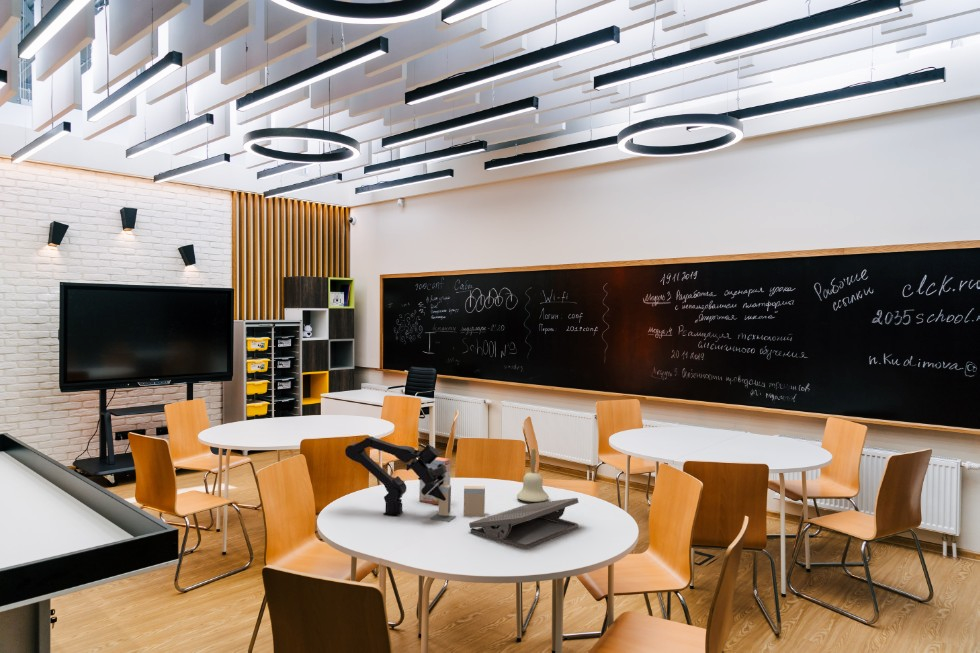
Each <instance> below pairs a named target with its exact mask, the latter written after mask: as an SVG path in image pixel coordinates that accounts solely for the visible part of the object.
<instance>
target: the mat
mask: <svg viewBox="0 0 980 653" xmlns="http://www.w3.org/2000/svg"><path fill="white" fill-rule="evenodd" d="M455 518H457V516H456V515H450V514H449V515H448V516H446V515H439V513H436V514H434V515H433V516H431V517H430V518H429V520H433V519H436V520H435V521H440V520H441V521H443V522H449V523H450V522H451V521H452V520H454V519H455Z"/></svg>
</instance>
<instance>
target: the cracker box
mask: <svg viewBox="0 0 980 653" xmlns="http://www.w3.org/2000/svg"><path fill="white" fill-rule="evenodd" d="M451 460H452V459H451V458H446V457H441V456H440V457H439V456H438V457H437V458H436V459H435V460H434V461H433V462H432V463H431V464H426V465H427V466H428V468H430V467H431V468H432V469H436V468H438V465H439V464H441V463H442V464H443V465H445V466H446V471H447V472H446V473H445V474H444V475H445V476H446V477H444V478H443V479H444V484H445V485H451ZM443 479H442V480H443ZM424 486H425V483H424V482H423V481H422V480H419V498H418V499H419V502H421V501H422V503H426V502H427V503H426V504H431V503H432V505H436V504H437V506H439V498H436V497H434V496H431V495H428V493H429V492H428V493H427V494H426V495H423V494H422V492H421V489H422V488H423V487H424Z"/></svg>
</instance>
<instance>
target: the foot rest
mask: <svg viewBox="0 0 980 653" xmlns="http://www.w3.org/2000/svg"><path fill="white" fill-rule="evenodd" d="M575 504H579V498H578V497H574V498H573V497H572V498H565V499H556V500H550V501H540V502H534V503H533V502H532V503H529V504H524V505H520V506H517V507H514V508H511V509H508V510H505V511H501V512H499V513H496V514H495V513H494V514H493V515H490V516H487V517H484V518H480V519H476V520H474V521H471V522H469V523H468V525H469V529H470V533H471V534H474V535H477V536H481V537H484V538H487V539H491V540H493V541H496V542H500V543H502V544H505V545H509V546H511V547H514V548H518V549H520V550H530V549H532V548H535V547H538V546H539V545H543V544H546V543H548V542H550V541H553V540H555V539H558V538H559V537H562V536H565V535H566V534H567V535H568V534H570V533H572V532H574V531H576V530H578V529H579V524H578V523H577V522H575V521H570V520H566V519H563V518H561V517H562V516H563V515H564V514H565V510H566V508H567V507H571V506H573V505H575ZM537 518H540V519H544V520H547V521H551V522H555V523H559V524H561V525H565V526H568V527H566V528H564V529H562V530H559V531H557V532H554V533H552V534H549V535H547V536H544V537H541V538H539V539H537V540H534V541H532V542H530V543H520V542H518V541H514V540H512V539H509V538H507V537H509V535H510V533H511V531H512V527H513V526H516V525H518V524H519V525H520V524H521V523H525V522H527V521H531V520H534V519H537ZM478 528H482V530H480V529H478Z"/></svg>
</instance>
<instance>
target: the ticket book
mask: <svg viewBox="0 0 980 653" xmlns="http://www.w3.org/2000/svg"><path fill="white" fill-rule="evenodd" d="M485 501H486V487H485V485H464V487H463V517H485V508H486V507H485V506H486V503H485Z"/></svg>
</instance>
